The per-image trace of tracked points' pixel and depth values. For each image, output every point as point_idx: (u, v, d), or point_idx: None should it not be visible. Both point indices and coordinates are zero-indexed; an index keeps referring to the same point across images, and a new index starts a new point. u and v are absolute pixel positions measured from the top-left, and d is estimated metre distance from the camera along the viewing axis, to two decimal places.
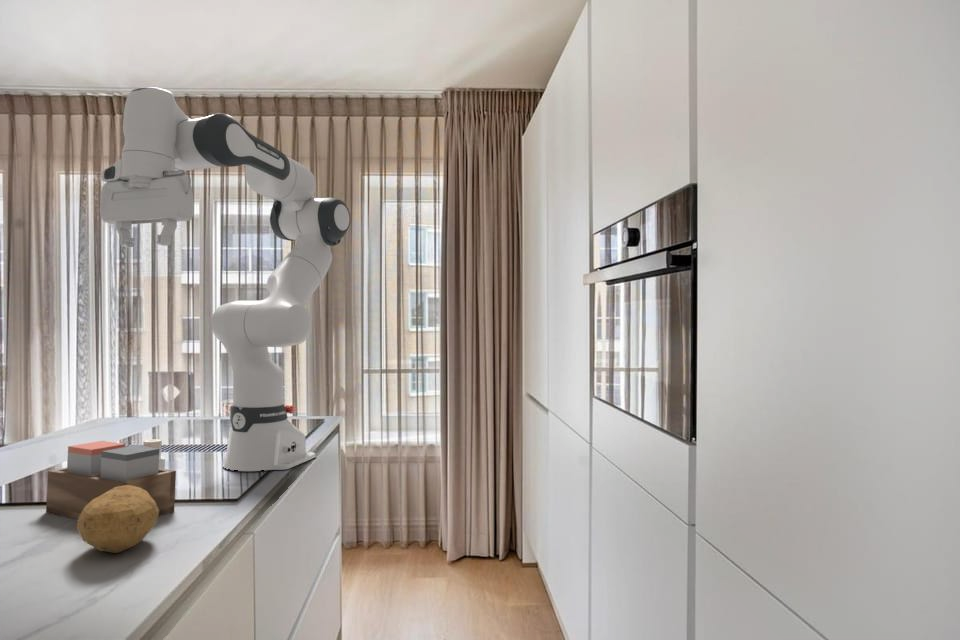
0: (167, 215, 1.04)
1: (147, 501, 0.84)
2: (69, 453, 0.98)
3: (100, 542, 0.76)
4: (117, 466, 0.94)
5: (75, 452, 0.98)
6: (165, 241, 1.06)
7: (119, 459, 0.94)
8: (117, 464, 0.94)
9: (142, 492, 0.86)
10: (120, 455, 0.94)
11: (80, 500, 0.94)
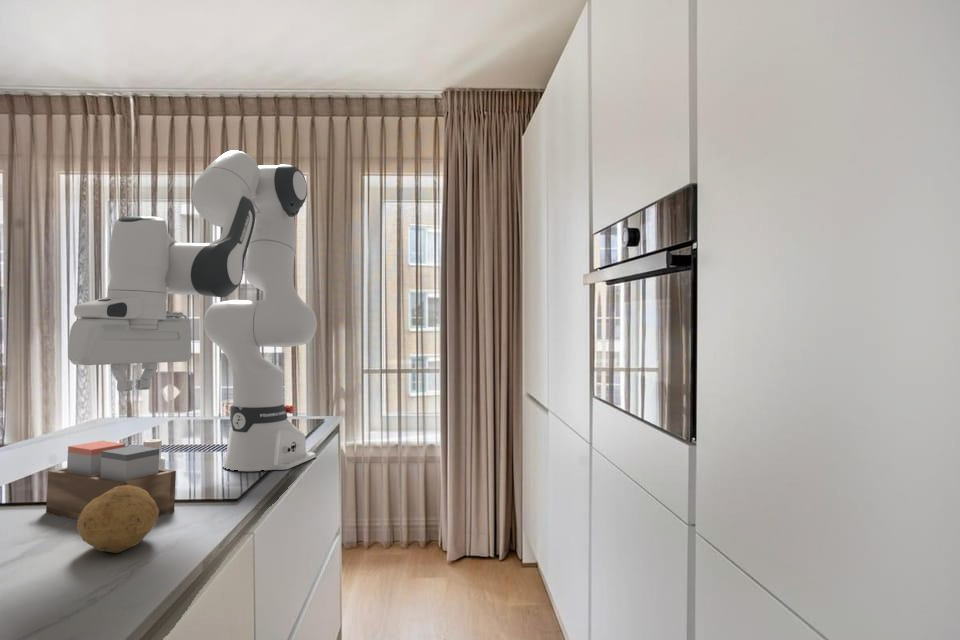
0: (179, 359, 1.04)
1: (147, 501, 0.84)
2: (69, 453, 0.98)
3: (100, 542, 0.76)
4: (117, 466, 0.94)
5: (75, 452, 0.98)
6: None
7: (119, 459, 0.94)
8: (117, 464, 0.94)
9: (142, 492, 0.86)
10: (120, 455, 0.94)
11: (80, 500, 0.94)
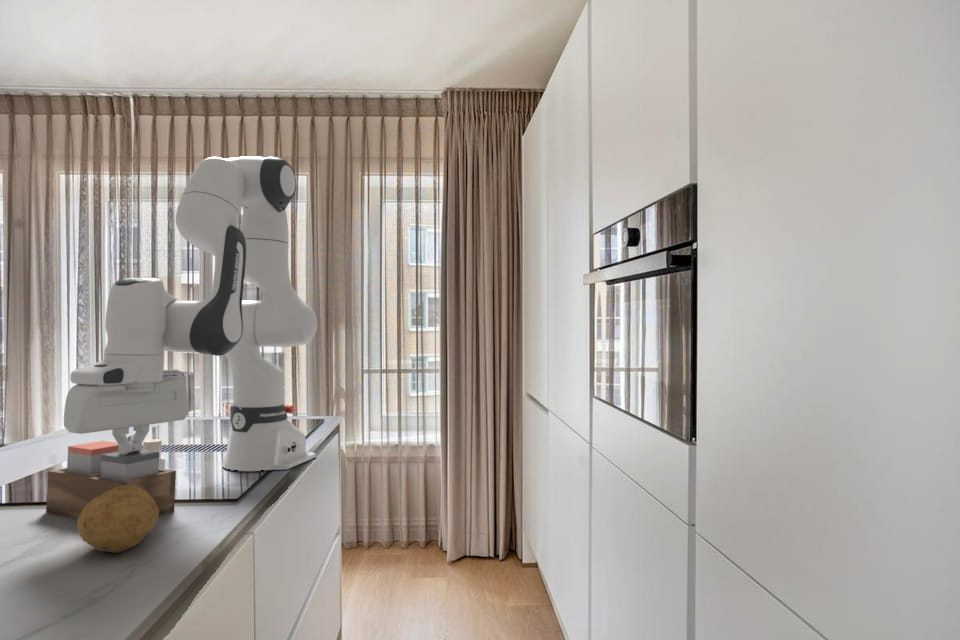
0: (176, 418, 1.03)
1: (147, 501, 0.84)
2: (69, 453, 0.98)
3: (100, 542, 0.76)
4: (117, 470, 0.94)
5: (75, 452, 0.98)
6: None
7: (119, 462, 0.94)
8: (117, 467, 0.94)
9: (142, 492, 0.86)
10: (120, 458, 0.94)
11: (80, 500, 0.94)
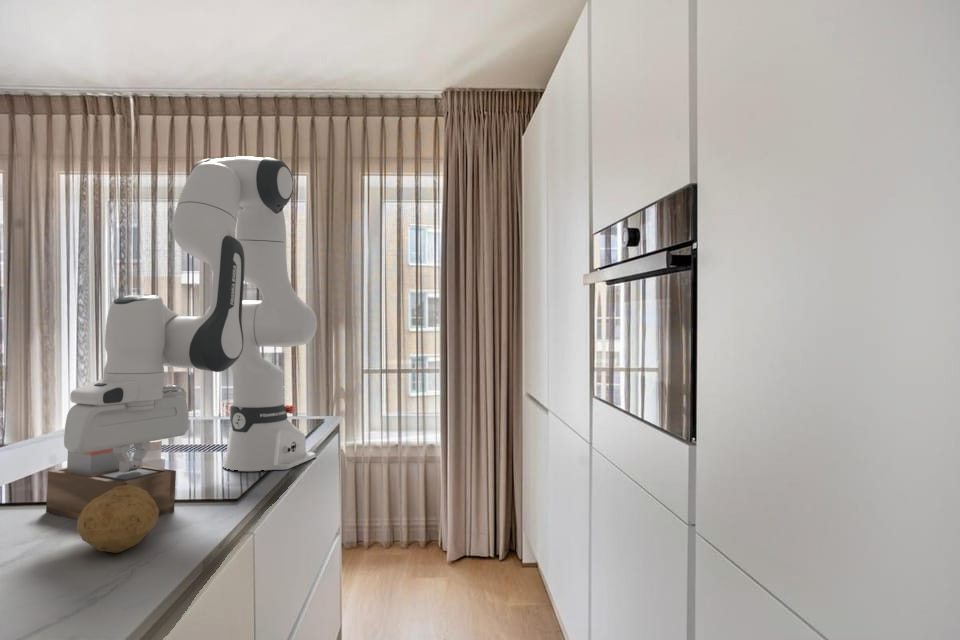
0: (176, 434, 1.03)
1: (147, 501, 0.84)
2: (69, 453, 0.98)
3: (100, 542, 0.76)
4: None
5: None
6: None
7: None
8: None
9: (142, 492, 0.86)
10: (119, 479, 0.94)
11: (80, 500, 0.94)
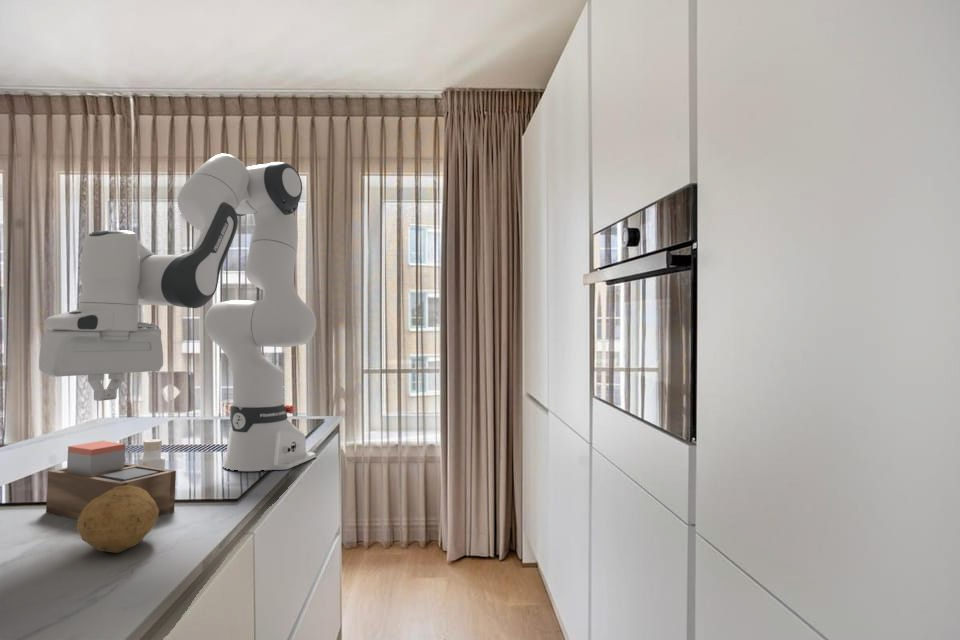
0: (151, 369, 1.06)
1: (147, 501, 0.84)
2: (69, 453, 0.98)
3: (100, 542, 0.76)
4: None
5: (75, 452, 0.98)
6: None
7: None
8: None
9: (142, 492, 0.86)
10: (119, 479, 0.94)
11: (80, 500, 0.94)
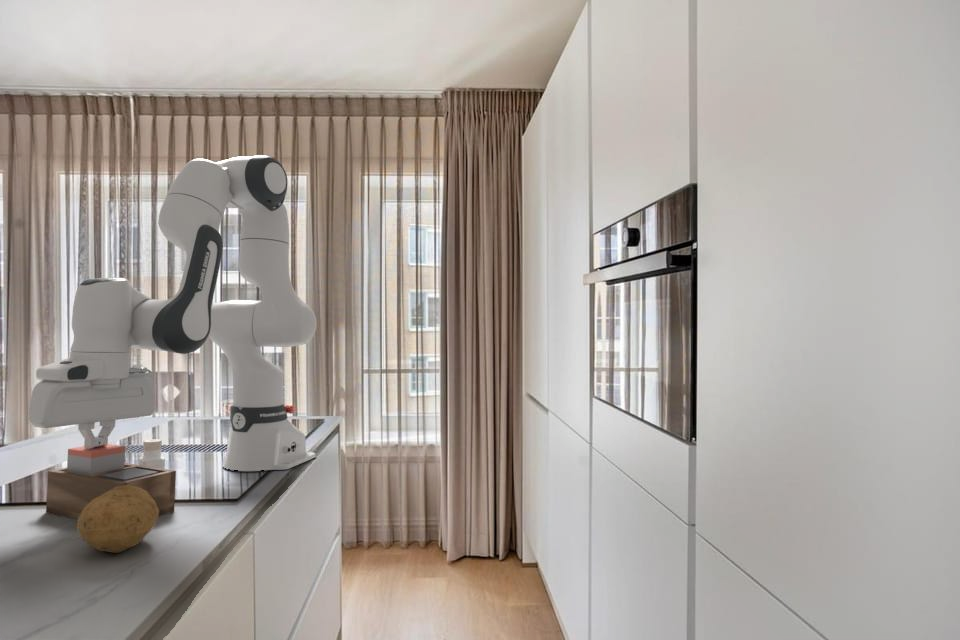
0: (142, 414, 1.06)
1: (147, 501, 0.84)
2: (69, 456, 0.98)
3: (100, 542, 0.76)
4: None
5: (75, 455, 0.98)
6: None
7: None
8: None
9: (142, 492, 0.86)
10: (119, 479, 0.94)
11: (80, 500, 0.94)
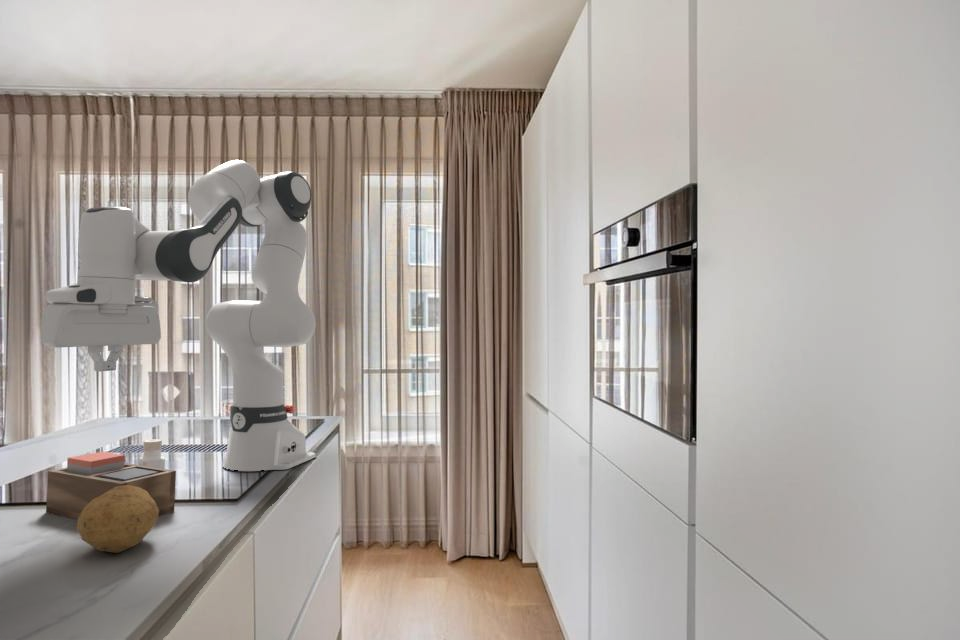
0: (149, 342, 1.10)
1: (147, 501, 0.84)
2: (68, 465, 0.98)
3: (100, 542, 0.76)
4: None
5: (74, 464, 0.98)
6: None
7: None
8: None
9: (142, 492, 0.86)
10: (119, 479, 0.94)
11: (80, 500, 0.94)
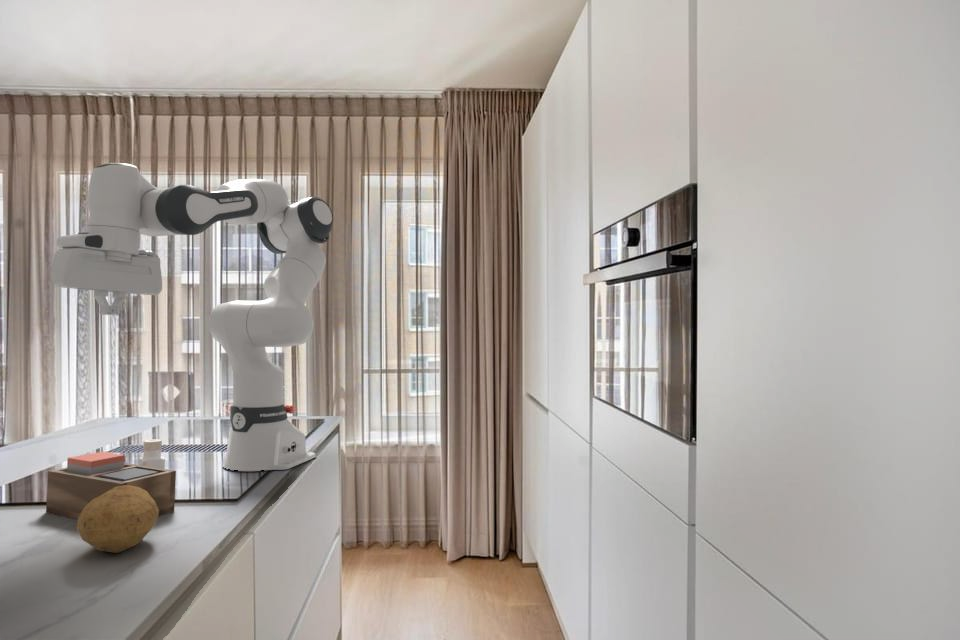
0: (150, 292, 1.18)
1: (147, 501, 0.84)
2: (68, 465, 0.98)
3: (100, 542, 0.76)
4: None
5: (74, 464, 0.98)
6: None
7: None
8: None
9: (142, 492, 0.86)
10: (119, 479, 0.94)
11: (80, 500, 0.94)
